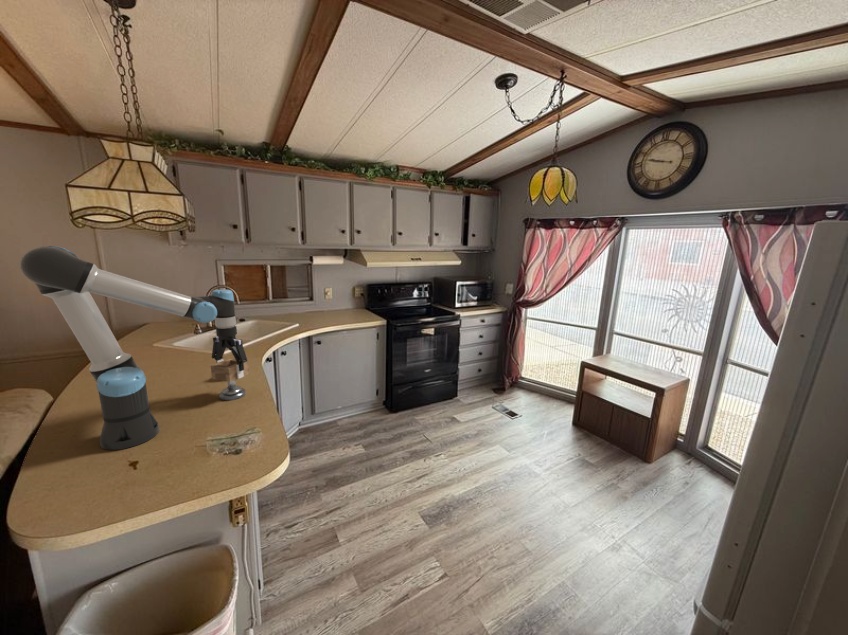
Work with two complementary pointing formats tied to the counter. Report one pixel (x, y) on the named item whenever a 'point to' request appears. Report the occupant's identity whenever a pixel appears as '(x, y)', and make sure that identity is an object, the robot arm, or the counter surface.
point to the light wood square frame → (227, 370)
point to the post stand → (232, 392)
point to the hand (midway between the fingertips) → (231, 375)
